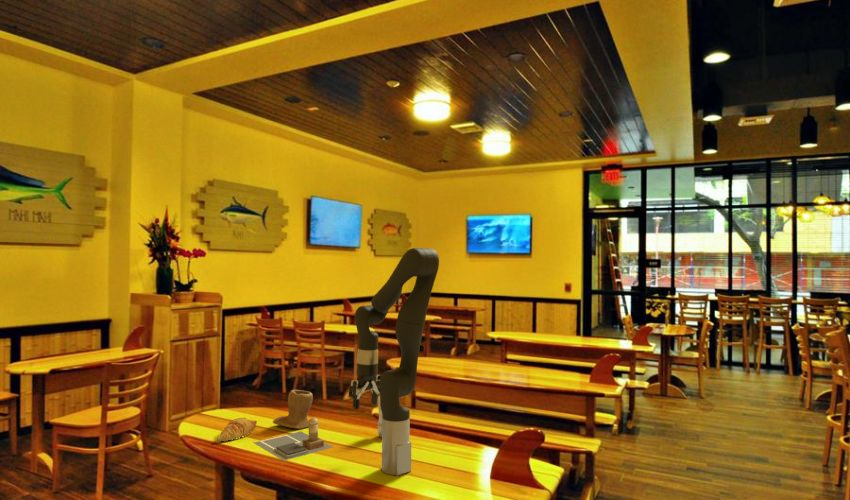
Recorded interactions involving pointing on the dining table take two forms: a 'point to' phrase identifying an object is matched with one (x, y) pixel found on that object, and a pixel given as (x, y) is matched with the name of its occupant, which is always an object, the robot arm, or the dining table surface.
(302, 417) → the tan boot
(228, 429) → the croissant
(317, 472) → the dining table surface
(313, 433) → the stamp
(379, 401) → the plastic bottle
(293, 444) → the desk board
